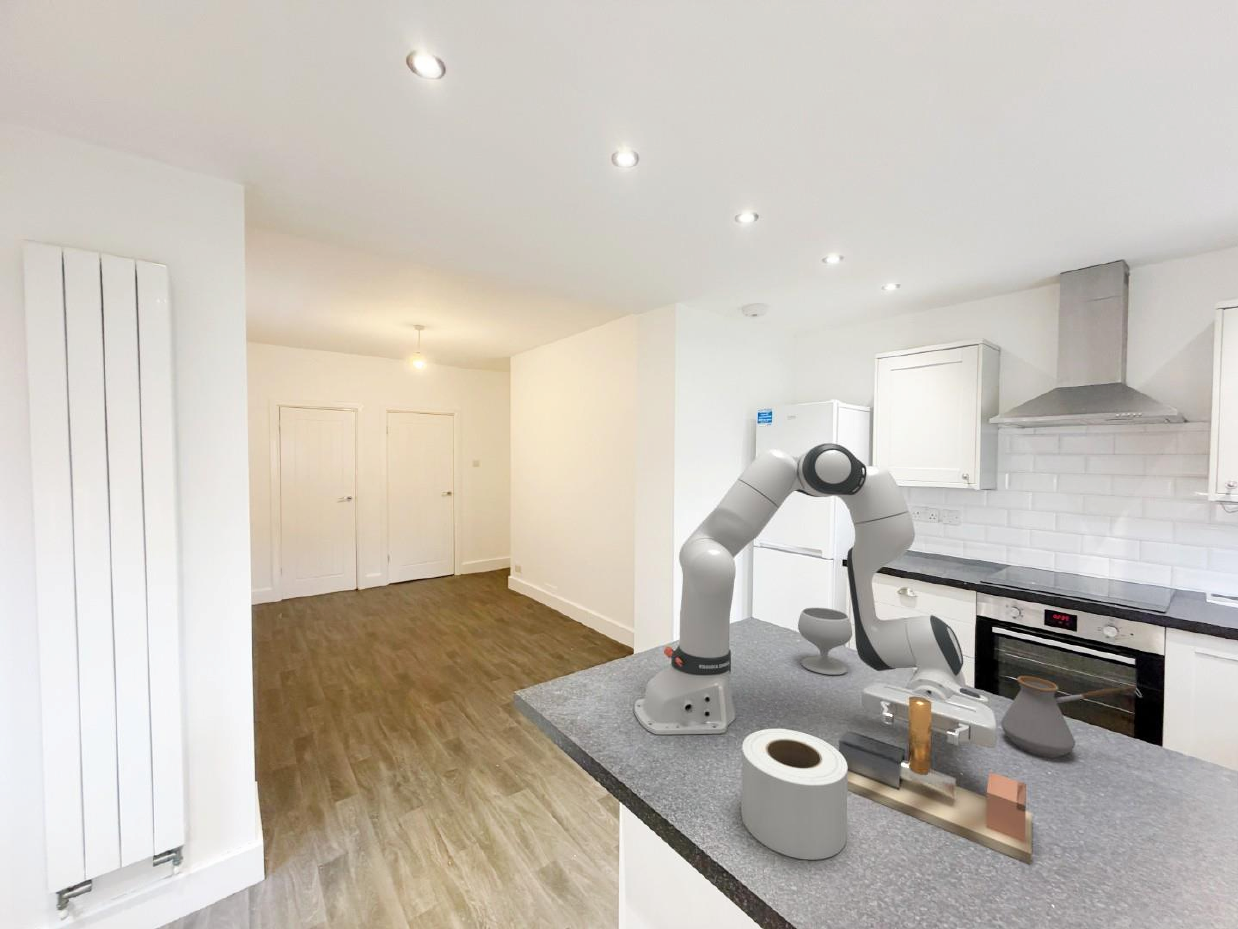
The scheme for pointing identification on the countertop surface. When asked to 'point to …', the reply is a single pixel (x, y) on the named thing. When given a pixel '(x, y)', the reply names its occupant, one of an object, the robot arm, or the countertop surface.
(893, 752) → the sleeve
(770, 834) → the toilet paper roll
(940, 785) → the tube
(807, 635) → the chalice
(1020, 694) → the coffee pot
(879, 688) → the robot arm
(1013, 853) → the board
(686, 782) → the countertop surface
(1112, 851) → the countertop surface
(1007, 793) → the socket
